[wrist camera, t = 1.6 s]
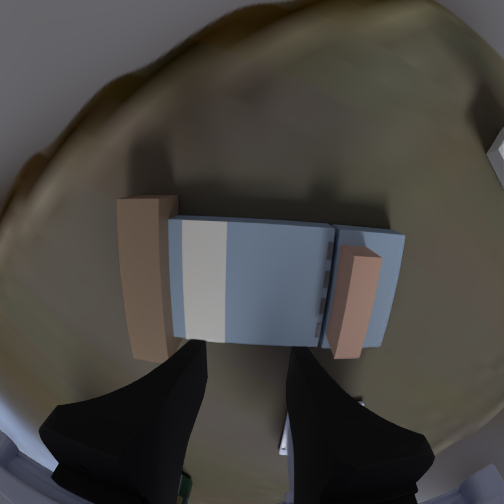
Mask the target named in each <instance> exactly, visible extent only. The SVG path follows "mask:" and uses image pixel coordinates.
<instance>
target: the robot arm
mask: <svg viewBox="0 0 504 504" xmlns="http://www.w3.org/2000/svg"><path fill="white" fill-rule="evenodd" d="M207 378H208V375H207V353H206V340H199V339H191V340H189V341H188V342H187V343H186V344H185V345H184V346H182V347H181V348H180V349H179V350H178V351H177V352H176V353H174V354H173V355H172V356H171V357H170V358H168V359H167V360H166V361H165V362H163V363H162V364H161V365H160V366H158V367H157V368H155V369H154V370H153V371H151V372H150V373H148V374H147V375H145V376H144V377H142V378H140V379H139V380H137V381H135V382H133V383H131V384H129V385H127V386H125V387H123V388H120V389H118V390H116V391H113V392H111V393H109V394H106V395H103V396H100V397H97V398H93V399H90V400H86V401H82V402H77V403H71V404H65V405H57V407H56V408H55V409H54V410H53V411H52V413H51V414H50V415H49V416H48V418H47V419H46V420H45V422H44V423H43V424H42V425H41V427H40V428H39V434H40V438H41V440H42V441H43V443H44V444H45V446H46V447H47V448H48V450H49V451H50V452H51V454H52V455H53V456H54V458H55V459H56V460H57V461H58V463H59V464H58V466H57V467H56V469H55V471H54V472H52V471H51V470H49V469H47V468H45V467H44V466H42V465H41V464H39V463H37V462H36V461H34V460H33V459H31V458H30V457H28V456H27V455H25V454H24V453H22V452H21V451H20V450H19V449H18V447H17V446H16V445H15V443H14V442H13V441H12V440H11V439H10V438H9V437H8V436H7V435H6V434H5V433H3V432H2V431H1V430H0V493H1V494H2V495H3V496H4V497H6V498H7V499H8V500H9V501H10V502H11V503H13V504H177V497H178V491H179V485H180V479H181V473H182V468H183V463H184V458H185V453H186V449H187V444H188V441H189V437H190V434H191V432H192V429H193V426H194V423H195V420H196V417H197V415H198V412H199V409H200V406H201V403H202V400H203V397H204V393H205V388H206V383H207ZM286 403H287V409H288V412H287V417H286V422H285V426H284V431H283V435H282V440H281V444H280V448H279V454H281V455H287V457H288V478H289V492H287V493H285V502H281V503H279V504H418V503H417V500H416V497H415V494H416V493H417V492H418V488H417V485H416V482H417V481H418V480H419V479H420V478H421V477H422V476H423V475H424V474H425V473H426V472H427V471H428V469H429V468H430V467H431V465H432V464H433V462H434V459H435V456H434V453H433V451H432V449H431V447H430V445H429V443H428V441H427V439H426V438H425V436H424V435H422V434H419V433H416V432H413V431H410V430H408V429H405V428H402V427H400V426H398V425H396V424H394V423H391V422H389V421H387V420H385V419H384V418H382V417H380V416H378V415H377V414H375V413H373V412H372V411H370V410H369V409H367V408H366V407H364V403H363V402H362V401H356V400H355V399H354V398H352V397H351V396H350V395H349V394H348V393H346V392H345V391H344V390H343V389H342V388H341V387H340V386H339V385H338V384H337V383H336V382H335V381H334V380H333V379H332V378H331V376H330V375H329V374H328V373H327V372H326V371H325V370H324V368H323V367H322V366H321V365H320V363H319V362H318V361H317V359H316V358H315V357H314V355H313V354H312V353H311V351H310V350H309V349H308V348H307V346H292V348H291V355H290V361H289V368H288V374H287V380H286ZM420 504H504V482H503V480H502V478H501V476H500V474H499V473H498V471H497V469H496V467H495V466H494V464H490V465H488V466H486V467H485V468H483V469H481V470H479V471H477V472H476V473H474V474H472V475H471V476H470V477H468V478H467V479H466V480H465V481H464V482H463V483H462V484H461V485H460V486H459V487H458V488H455V489H453V490H451V491H449V492H447V493H445V494H442V495H440V496H438V497H436V498H433V499H430V500H428V501H425V502H422V503H420Z"/></svg>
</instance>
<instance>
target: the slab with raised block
mask: <svg viewBox="0 0 504 504" xmlns="http://www.w3.org/2000/svg"><path fill="white" fill-rule="evenodd" d="M332 227H334V228H335V235H334V244H333V252H332V260H331V268H330V275H329V282H328V289H327V296H326V302H325V308H324V314H323V320H322V325H321V331H320V336H319V341H320V344H321V348H331V351H332V354H333V357H334V359H352V358H359V357H360V354H361V350H362V347H380V346H381V343H382V340H383V336H384V333H385V329H386V326H387V322H388V318H389V314H390V311H391V307H392V302H393V298H394V294H395V289H396V285H397V280H398V275H399V270H400V265H401V259H402V254H403V248H404V241H405V235H403V234H401V233H399V232H396V231H394V230H389V229H380V228H369V227H358V226H347V225H335V224H332Z"/></svg>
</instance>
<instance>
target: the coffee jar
mask: <svg viewBox="0 0 504 504" xmlns="http://www.w3.org/2000/svg"><path fill="white" fill-rule="evenodd" d="M191 488H192V481H191V480H190V479H189V478H188V477H186V476H185V475H184V474H182V473H181V479H180V485H179V491H178V497H177V504H187V503H188V500H189V496H190V492H191Z"/></svg>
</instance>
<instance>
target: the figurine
mask: <svg viewBox="0 0 504 504" xmlns="http://www.w3.org/2000/svg"><path fill="white" fill-rule="evenodd" d="M486 156H487V157H488V159H489V161H490V163H491V165H492V167H493V169H494V171H495V173H496V175H497V177H498V179H499V181H500V183H501V185H502V188H503V190H504V127H503V128H502V130H501V131H500V132H499V134H498V136H497V137H496V139H495V141H494V142H493V144H492V146H491V147H490V149H489V150H488V152H487V153H486Z"/></svg>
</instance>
